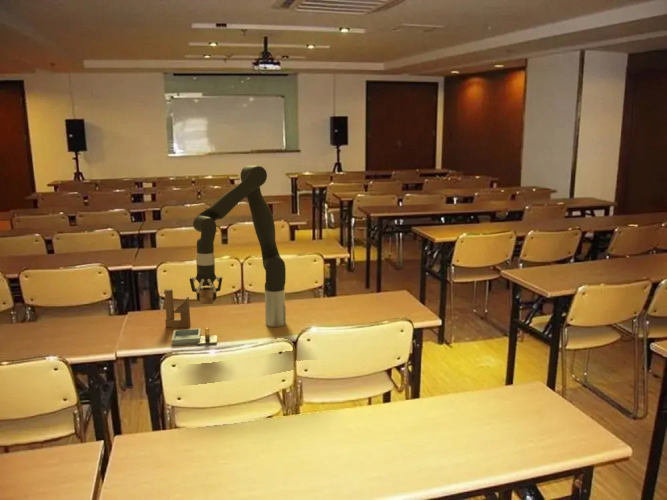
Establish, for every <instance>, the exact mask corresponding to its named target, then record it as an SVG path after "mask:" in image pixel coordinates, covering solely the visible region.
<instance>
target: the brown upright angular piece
mask: <svg viewBox="0 0 667 500" xmlns="http://www.w3.org/2000/svg"><path fill="white" fill-rule="evenodd" d="M173 292H174V291H173V289H172V288H165V289H164V303H165V317H166V319H165V323H164V324H165V328H183V329H185V328H187V329H189V327H190V326H191V313H190V312H191V311H190V297H189V296H187V297H186V298H185V299H184V300H183V301H182V302H181V303H180V304H179V306H177V307H176V308H175V306H174V294H173ZM175 314H180V315H179V316H180V317H175Z"/></svg>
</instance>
